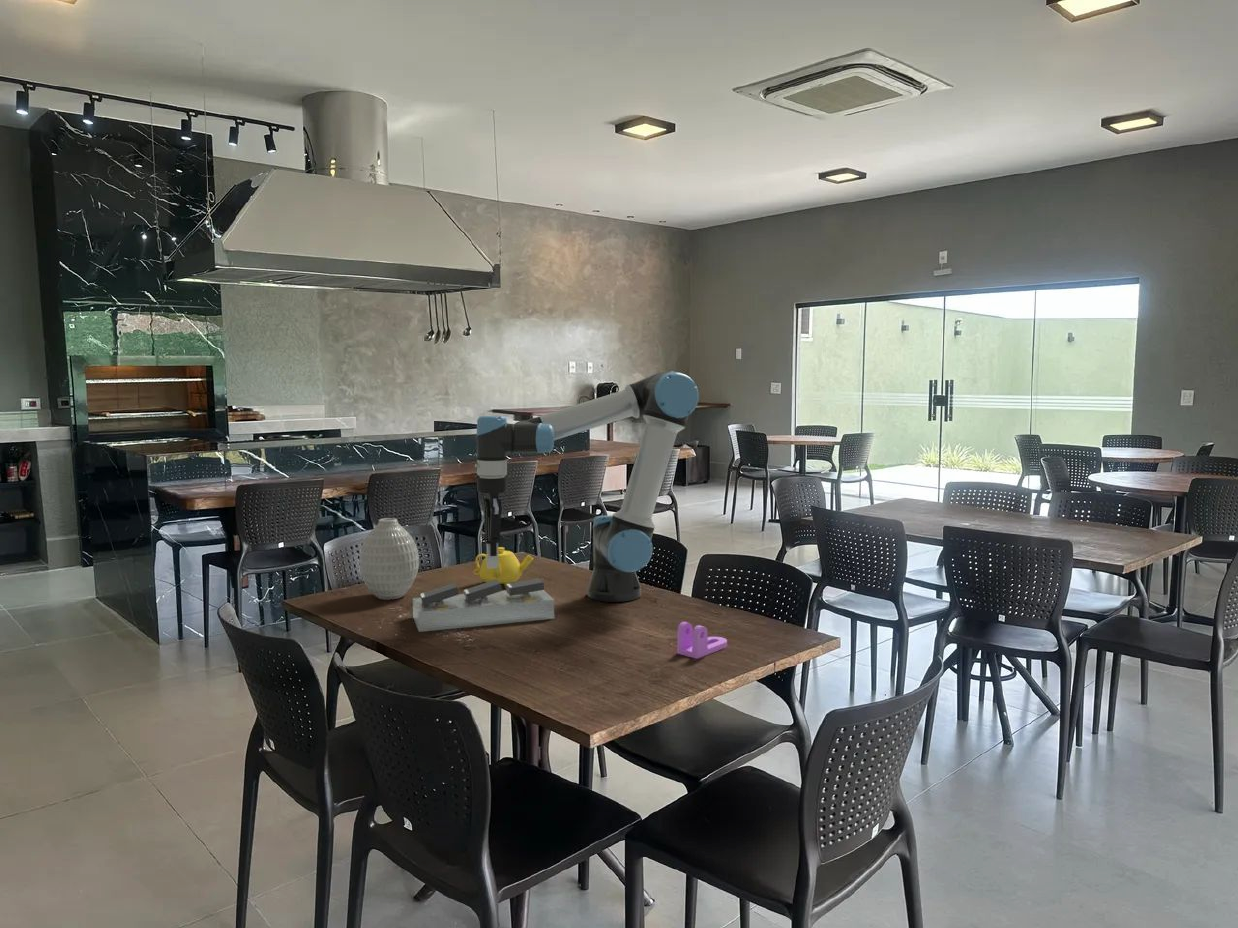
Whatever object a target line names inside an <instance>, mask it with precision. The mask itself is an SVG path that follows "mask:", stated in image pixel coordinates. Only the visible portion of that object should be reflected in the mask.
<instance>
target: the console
mask: <svg viewBox="0 0 1238 928" xmlns="http://www.w3.org/2000/svg"><path fill="white" fill-rule="evenodd" d="M412 618H413V620H414V623H415V626H416V628H417V631H418V633H422V632H423V633H424V632H431V631H432V632H433V631H443V630H453V629H462V628H472V627H473V628H475V627H482V626H493V625H495V626H496V625H503V624H505V625H506V624H514V623H524V622H533V621H534V622H535V621H544V620H545V621H546V620H554V619H555V599H554V598H553V597H552V596H551V595H550V594H549V593H548V592H546V591H545V589H544V590H540V591H535V592H529V593H524V594H518V595H513V596H510V595H509V594H508V593H507V592H506V590H505V589H504V590H503V589H502V591H500V592H497V593H494V594H491V595H488V596H485V597H482V598H479V599H476V600H473V601H470V602H468V601H467V599H466V598H465V595H464V593H459V595H456V596H453V597H450V598H447V599H444V600H441V601H438V602H435V603H432V604H429V605H426V606H424V605H423V603H422V600H421V597H413V598H412Z"/></svg>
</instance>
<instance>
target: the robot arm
mask: <svg viewBox="0 0 1238 928" xmlns="http://www.w3.org/2000/svg"><path fill="white" fill-rule="evenodd" d="M699 393H700V392H699V390H698V386H697V384H696V383H695V381H694V380H693V379H692V378H691V377H690V376H689V375H687V374H684V373H681V372H678V371H669V372H659V373H655V374H652V375H650V376H647V377H645V378H643V379H641V380H639V381H636V382H633V383H631V384H627V385H625V387H624V388H623V390H620V391H616V392H614V393H611V394H607V395H603V396H601V397H597V398H594V399H591V400H587V401H585V402H581V403H578V404H575V405H571V406H568V407H565V408H562V409H557V410H555V411H552V412H549V413H546V414H542V415H538V416H537V417H532V418H529V419H527V420H526V419H525V420H524V419H523V420H520V421H519V420H518V421H516V422H514V423H509V422H508V420H507V416H505V415H482V416H479V417H478V419H477V420H476V435H475V436H476V462H477V463H475V464H474V467H475V468H477V470H476V471H477V472H476V474H477V475H478V477H477V479H476V490H477V491H476V492H478V493H481V494H484V495H485V497H484V498H483V499H482V505H483V506H482V507H483V519H484V521H483V522H484V538H485V545H486V555H487V568H488V569H491V568H498V547H499V543H500V542H501V521H502V520H501V519H502V510H503V506H502V500H501V499H500V497H499V496H500V495H499V494H501V493H505V492H507V490H508V478H507V477H506V476H507V474H508V458H507V457H508V456H507V455H508V454H518V453H519V454H542V453H545V454H547V453H551V452H552V451H553V450H554V444H555V441H557V440H560V439H563V438H566V437H568V436H569V437H570V436H572V435H577V434H578V433H579V434H580V433H582V432H585V431H589V430H591V429H592V430H593V429H595V428H598V427H601V426H604V425H607V424H611V423H614V422H617V421H621V420H624V419H628V418H631V417H633V418H635V419H639V418H643V419H644V421H645V427H644V431H643V434H642V437H641V440H640V443H639V446H638V447H639V448H638V450H637V452H636V453H637V454H636V457H635V461H634V464H633V467H632V470H631V474H630V477H629V480H628V484H627V487H626V491H625V494H624V496H623V501H622V503H621V507H620V509H619V510H618V511H616V512H614V513H613V514H612V515H609V514H608V515H598V516H595V517H594V519H593V525H592V532H593V533H592V535H593V537H592V541H593V549H592V550H593V551H592V552H593V570H592V573H591V576H590V580H589V583H588V587H587V597H588V598H589V599H590V600H594V601H599V602H606V603H609V602H610V603H611V602H612V603H619V602H629V601H633V600H637V599H639V598H640V597H642V587H641V583H640V581H639V577H638V575H637V571H640V570H642V569H643V568H645V566H646V565H648V563H650V561H651V558H652V556H653V552H654V551H653V549H654V547H653V543H652V538H653V533H654V531H655V528H656V526H655V523H654V522H653V519H652V518H653V516H654V515H653V514H654V511H655V508H656V505H657V502H658V497H659V494H660V491H661V488H662V485H663V481H664V478H665V475H666V472H667V468H668V464H669V462H670V459H671V455H672V451H673V448H674V445H675V442H676V438H677V434H678V433H679V432H681V431H682V430H684V429H685V428H686V425H687V422H688V419H689V415H692V413H693V412H694V411H695V409H696V408H697V406H698V404H699V398H700V394H699ZM507 453H508V454H507Z"/></svg>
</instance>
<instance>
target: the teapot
mask: <svg viewBox="0 0 1238 928" xmlns="http://www.w3.org/2000/svg"><path fill="white" fill-rule="evenodd" d="M481 557H484V558H483V561H482V562H481V565H480V564H479V558H481ZM533 560H534V558H533V557H532V556H531V555H529V554H527V556H526V557H525V558H524V559H523V560H522V562H521V563H520V561H519V559H518V558H517V556H516V555H515V553H514V552H512V551H510V550H505V547H503V546H501V547H500V546H498V568H491V569H488V568H487V553H486V554H485V553H480V554H477V556H476V557H475V565H476V568H475V569H474V570H473V575H474V576H477V577H480V579H481V580H482V581H483V582H484V583H487V582H490V581H493V580H496V579H497V580H498V581H499V582H500V584H501V585H502V584H503V585H504V587H505V588H506V584H509V583H515V582H518V580H519V579H520V578H521V576H522V574H523V572H524V571H525V570H526V568H527V567H528V566H529V565H530V564H531V562H533Z"/></svg>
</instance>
